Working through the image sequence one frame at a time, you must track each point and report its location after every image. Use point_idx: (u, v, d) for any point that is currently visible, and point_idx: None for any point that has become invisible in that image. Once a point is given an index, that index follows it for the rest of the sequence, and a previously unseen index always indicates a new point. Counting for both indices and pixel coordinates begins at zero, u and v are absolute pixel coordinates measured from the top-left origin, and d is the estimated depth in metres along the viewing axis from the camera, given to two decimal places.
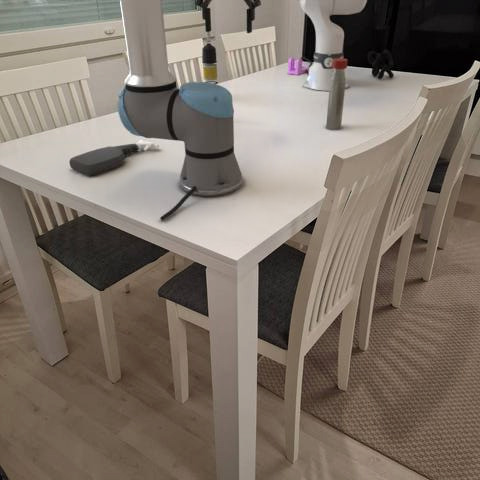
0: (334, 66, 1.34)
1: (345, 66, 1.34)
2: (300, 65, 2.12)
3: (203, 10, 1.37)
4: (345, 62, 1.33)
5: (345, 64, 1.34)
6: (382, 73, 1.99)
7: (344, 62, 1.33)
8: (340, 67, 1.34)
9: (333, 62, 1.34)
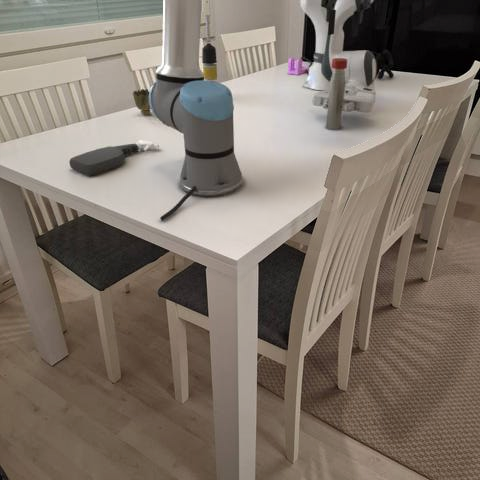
0: (334, 66, 1.34)
1: (345, 66, 1.34)
2: (300, 65, 2.12)
3: None
4: (345, 62, 1.33)
5: (345, 64, 1.34)
6: (382, 73, 1.99)
7: (344, 62, 1.33)
8: (340, 67, 1.34)
9: (333, 62, 1.34)
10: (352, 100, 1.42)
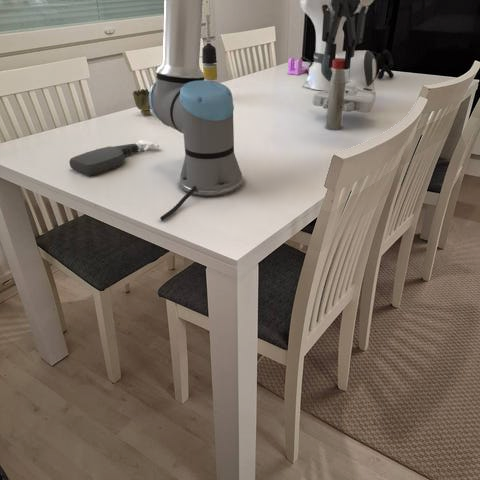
0: (334, 66, 1.34)
1: None
2: (300, 65, 2.12)
3: None
4: None
5: None
6: (382, 73, 1.99)
7: (344, 62, 1.33)
8: (340, 67, 1.34)
9: (333, 62, 1.34)
10: (352, 100, 1.42)
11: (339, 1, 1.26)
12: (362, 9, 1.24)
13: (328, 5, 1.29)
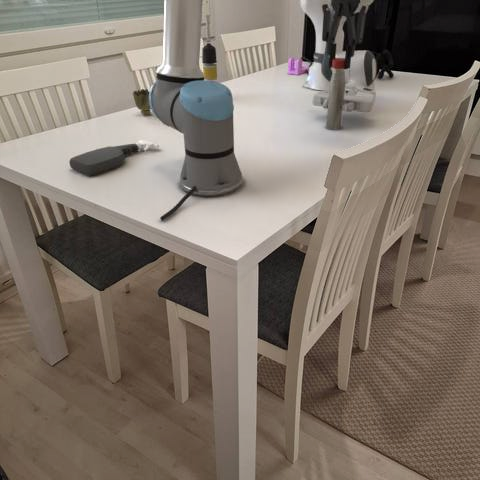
0: None
1: None
2: (300, 65, 2.12)
3: None
4: None
5: None
6: (382, 73, 1.99)
7: None
8: None
9: (343, 62, 1.33)
10: (352, 100, 1.42)
11: (339, 1, 1.26)
12: (362, 9, 1.24)
13: (328, 5, 1.29)
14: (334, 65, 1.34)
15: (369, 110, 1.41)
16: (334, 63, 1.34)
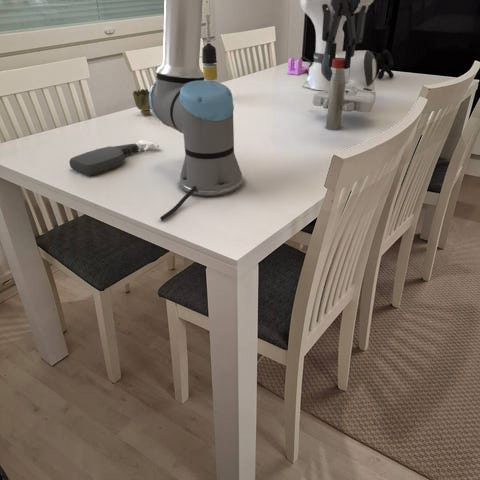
0: None
1: None
2: (300, 65, 2.12)
3: None
4: None
5: None
6: (382, 73, 1.99)
7: None
8: None
9: None
10: (352, 100, 1.42)
11: (339, 0, 1.26)
12: (362, 8, 1.24)
13: (328, 4, 1.29)
14: None
15: (369, 110, 1.41)
16: (344, 63, 1.33)
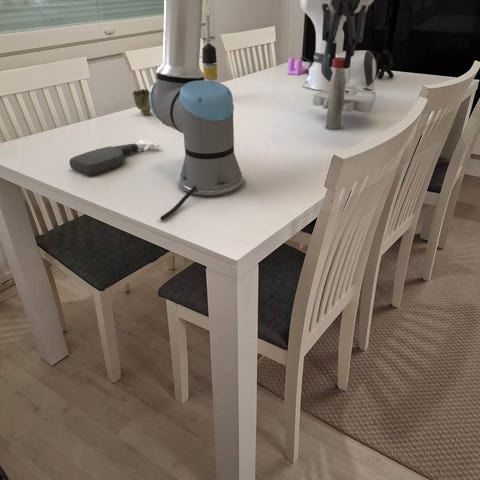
0: None
1: (334, 65, 1.34)
2: (300, 65, 2.12)
3: None
4: (334, 61, 1.34)
5: (334, 63, 1.34)
6: (382, 73, 1.99)
7: (333, 60, 1.34)
8: (332, 64, 1.36)
9: None
10: (352, 100, 1.42)
11: (339, 0, 1.26)
12: (362, 8, 1.23)
13: (328, 4, 1.29)
14: None
15: (369, 110, 1.41)
16: None
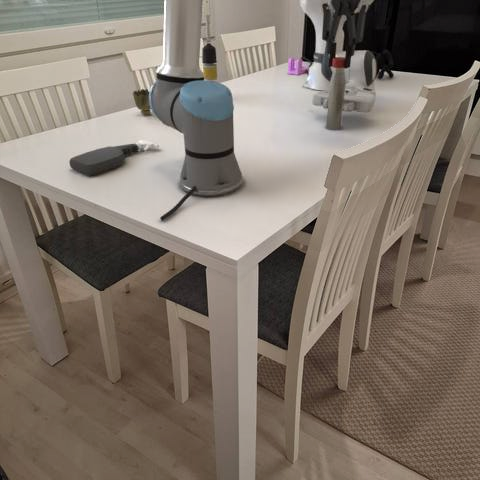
0: (333, 65, 1.35)
1: None
2: (300, 65, 2.12)
3: None
4: (344, 61, 1.33)
5: (344, 63, 1.33)
6: (382, 73, 1.99)
7: (343, 61, 1.33)
8: (338, 66, 1.34)
9: (332, 60, 1.35)
10: (352, 100, 1.42)
11: (339, 0, 1.26)
12: (362, 8, 1.23)
13: (328, 4, 1.29)
14: None
15: (369, 110, 1.41)
16: None
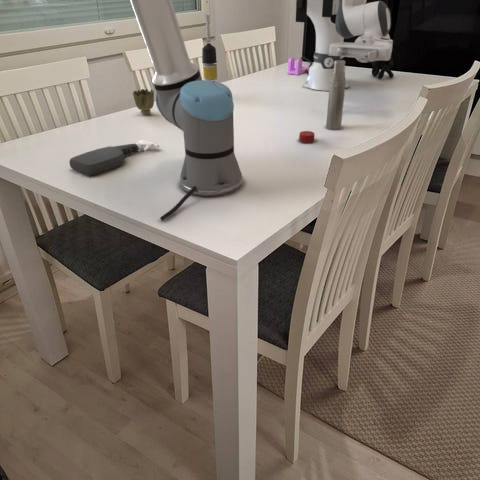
0: None
1: None
2: (300, 65, 2.12)
3: None
4: None
5: None
6: (382, 73, 1.99)
7: None
8: None
9: None
10: (370, 48, 1.44)
11: None
12: None
13: None
14: (310, 140, 1.33)
15: (387, 57, 1.43)
16: (310, 138, 1.33)
